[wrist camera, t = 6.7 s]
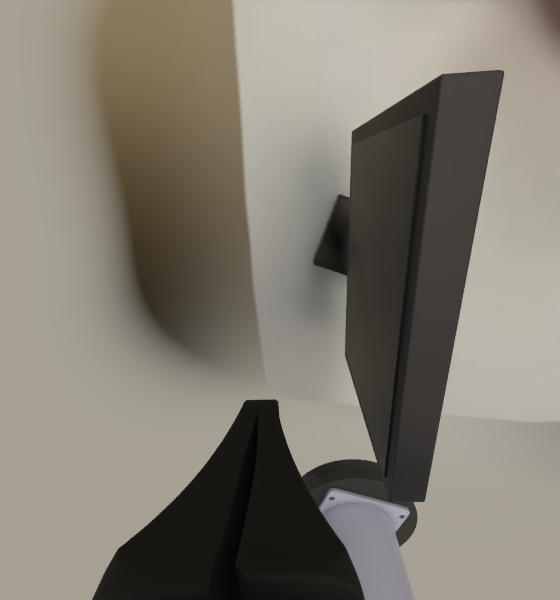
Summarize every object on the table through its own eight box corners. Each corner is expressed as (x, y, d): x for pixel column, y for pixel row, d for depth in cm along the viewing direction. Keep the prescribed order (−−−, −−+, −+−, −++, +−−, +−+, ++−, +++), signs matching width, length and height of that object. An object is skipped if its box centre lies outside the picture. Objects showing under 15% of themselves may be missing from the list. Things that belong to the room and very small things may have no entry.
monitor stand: (312, 261, 21) (321, 297, 15) (338, 193, 19) (360, 204, 13) (374, 282, 22) (407, 325, 15) (405, 217, 20) (456, 238, 14)
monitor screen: (343, 355, 19) (386, 503, 10) (350, 131, 14) (437, 73, 6) (364, 354, 19) (425, 502, 10) (378, 129, 14) (506, 68, 6)
